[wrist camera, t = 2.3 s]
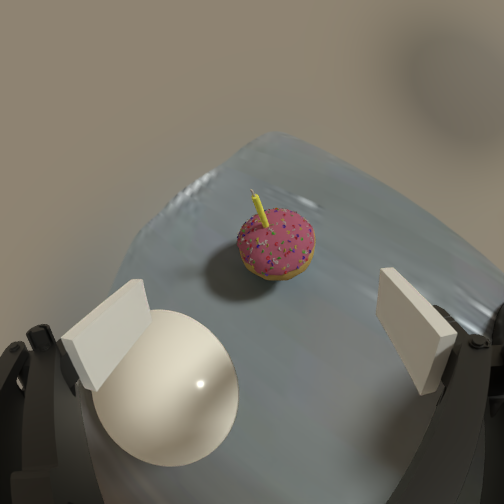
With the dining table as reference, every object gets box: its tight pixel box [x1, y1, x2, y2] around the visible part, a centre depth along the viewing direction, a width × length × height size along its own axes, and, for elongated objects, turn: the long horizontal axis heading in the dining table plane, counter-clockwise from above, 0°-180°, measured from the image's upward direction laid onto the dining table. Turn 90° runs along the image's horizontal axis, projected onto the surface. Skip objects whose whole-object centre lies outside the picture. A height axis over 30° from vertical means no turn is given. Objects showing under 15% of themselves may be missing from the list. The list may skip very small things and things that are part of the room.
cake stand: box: [92, 310, 239, 466], centre depth 24 cm, size 15×15×8 cm
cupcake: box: [237, 189, 315, 280], centre depth 28 cm, size 9×8×12 cm
